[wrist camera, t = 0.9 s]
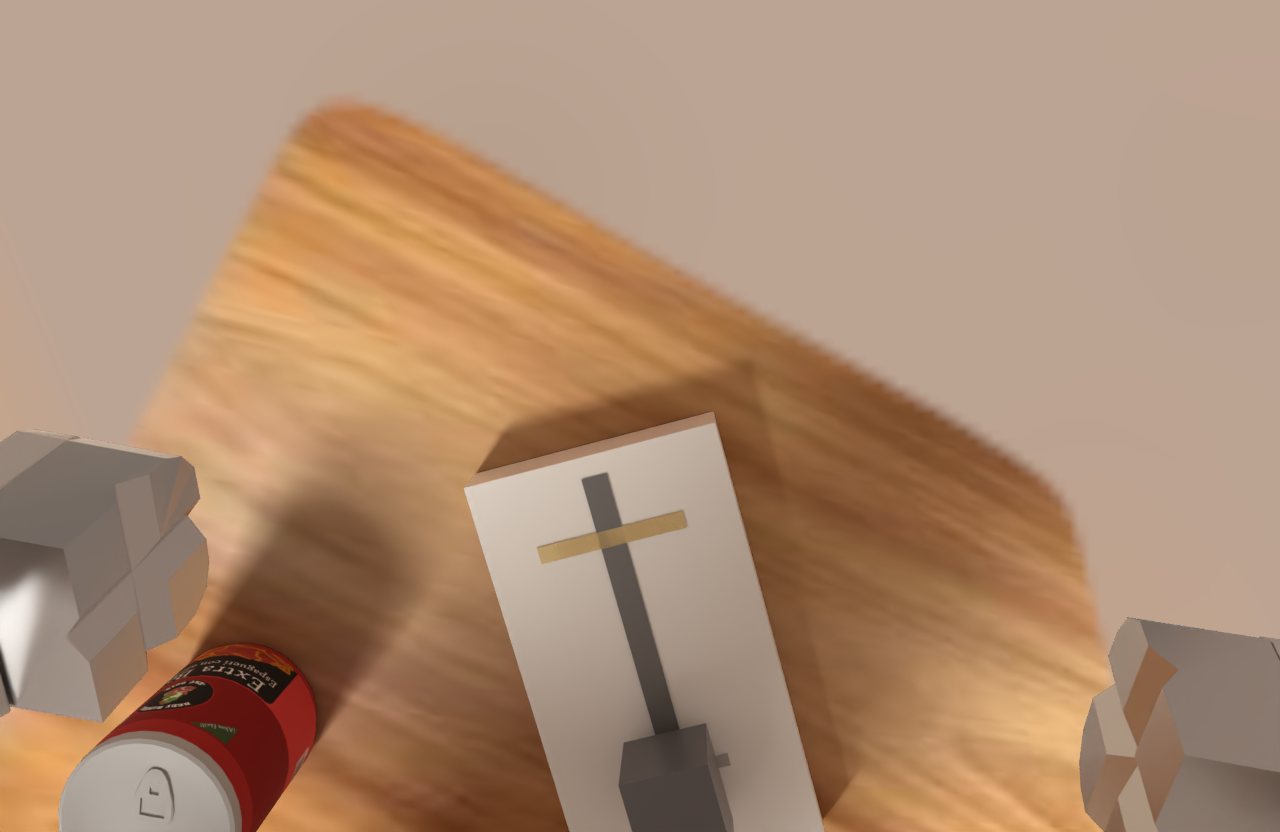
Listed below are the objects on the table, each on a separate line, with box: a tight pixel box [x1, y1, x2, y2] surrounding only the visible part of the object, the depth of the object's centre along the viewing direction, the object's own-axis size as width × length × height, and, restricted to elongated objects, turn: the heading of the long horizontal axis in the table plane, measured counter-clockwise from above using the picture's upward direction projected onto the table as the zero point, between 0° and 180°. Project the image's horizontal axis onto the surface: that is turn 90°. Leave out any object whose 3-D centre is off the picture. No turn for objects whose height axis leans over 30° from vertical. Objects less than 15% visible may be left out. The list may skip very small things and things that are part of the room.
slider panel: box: [464, 411, 825, 832], centre depth 53 cm, size 22×12×3 cm, turn 15°
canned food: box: [58, 643, 317, 832], centre depth 51 cm, size 8×8×11 cm
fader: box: [618, 723, 734, 832], centre depth 50 cm, size 5×4×5 cm
